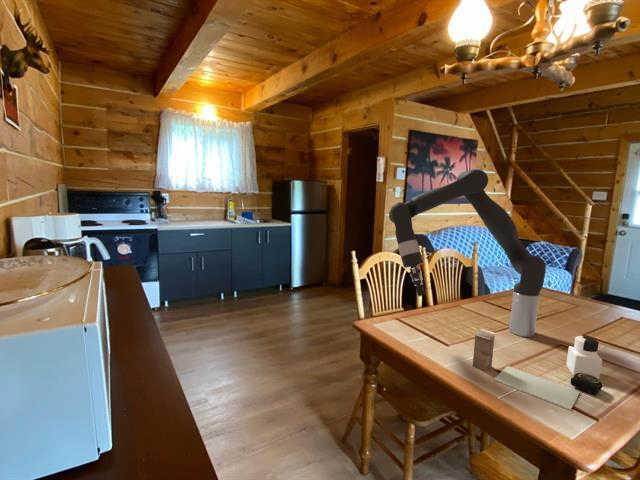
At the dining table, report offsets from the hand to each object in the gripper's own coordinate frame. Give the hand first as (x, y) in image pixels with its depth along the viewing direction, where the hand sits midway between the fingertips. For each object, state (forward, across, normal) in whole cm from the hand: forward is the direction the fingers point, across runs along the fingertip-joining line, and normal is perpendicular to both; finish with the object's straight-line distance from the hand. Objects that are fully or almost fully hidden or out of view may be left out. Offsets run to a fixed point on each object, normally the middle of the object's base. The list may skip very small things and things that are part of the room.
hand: (422, 295), depth 129 cm
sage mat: (+34, -10, -26) cm, 44 cm away
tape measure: (+38, -7, -39) cm, 55 cm away
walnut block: (+27, -4, -13) cm, 30 cm away
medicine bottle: (+36, +4, -42) cm, 56 cm away
